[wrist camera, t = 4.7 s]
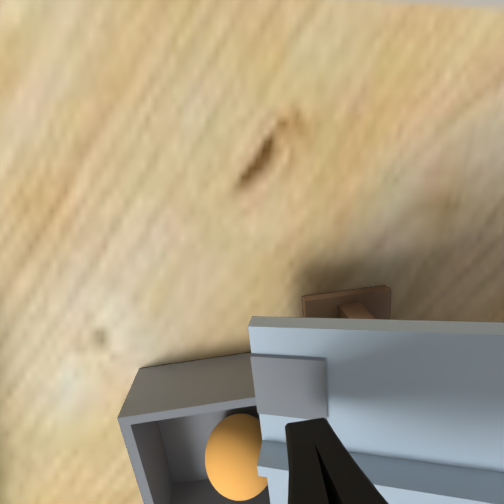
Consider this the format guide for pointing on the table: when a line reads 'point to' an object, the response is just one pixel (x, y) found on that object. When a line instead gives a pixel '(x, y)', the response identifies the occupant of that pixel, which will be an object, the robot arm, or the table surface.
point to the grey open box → (184, 426)
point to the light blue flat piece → (387, 402)
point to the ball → (235, 457)
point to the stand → (350, 304)
